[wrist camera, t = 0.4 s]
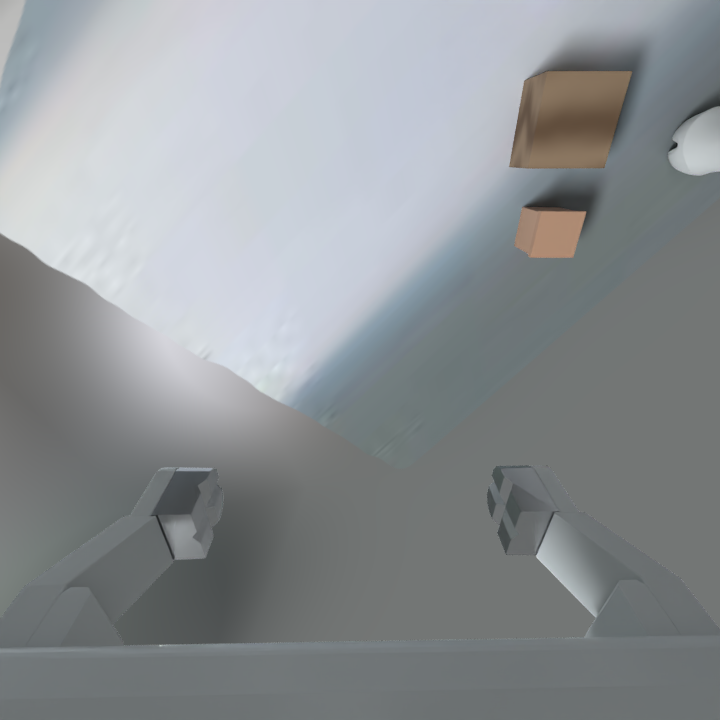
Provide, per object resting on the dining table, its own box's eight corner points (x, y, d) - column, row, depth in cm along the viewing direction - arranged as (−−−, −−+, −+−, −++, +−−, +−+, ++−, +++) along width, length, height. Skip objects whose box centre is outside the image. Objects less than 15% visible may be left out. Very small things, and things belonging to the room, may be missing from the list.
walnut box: (523, 81, 43) (547, 71, 38) (598, 81, 43) (632, 71, 38) (508, 166, 48) (528, 168, 42) (576, 166, 48) (604, 168, 42)
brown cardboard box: (521, 205, 50) (541, 211, 44) (561, 205, 50) (586, 211, 45) (512, 247, 53) (530, 257, 47) (550, 247, 53) (572, 257, 47)
